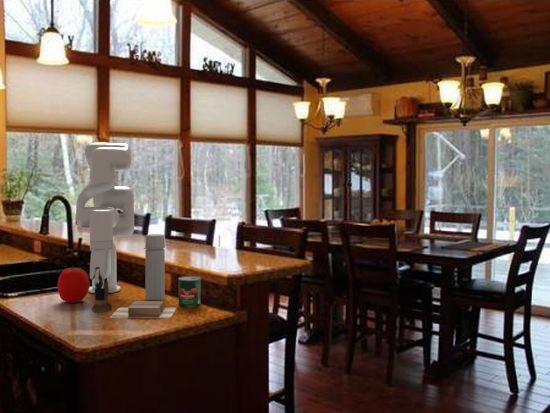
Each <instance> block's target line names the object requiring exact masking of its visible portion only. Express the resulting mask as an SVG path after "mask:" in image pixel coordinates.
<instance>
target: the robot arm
mask: <svg viewBox="0 0 550 413" xmlns="http://www.w3.org/2000/svg"><path fill="white" fill-rule="evenodd" d="M84 154H85V159H86V162H87V164H88V166H89V169H90V181H89V183H88V184H87V185H86V186H85V187H84V188H83V189H82V190H81V191H80V193H79V194H78V196H77V199H76V209H75V210H76V211H75V220H76V221H75V222H76V225H77V226H78V228H80V229H81V228H82V229H89V251H91V253H90V263H89V280H91V282H92V283H91V285H92V286H90V287H89V290H88V293H91V294H94V300H95V301H96V300H105V288H104V280H107V281H108V297H109V294H111V293H116V292H119V291H121V286H120V285H118V284H117V280H118V279H117V277H118V276H117V247H116V244H115V243H114V238H115V237H131V236H132V235H133V234H134V232H135V199H134V198H135V196H134V191H133V189H132V188H130V187H129V186H116V183H115V180H116V179H115V178H116V177H115V171H128V170H129V169H130V168H131V166H132V149H131V147H130V145H129V144H127V143H121V142H120V143H116V142H113V143H111V142H110V143H109V142H93V143H88V144H87V145H86V146H85V148H84ZM91 199H92V200H93V201H92V202H93V203H92V204H93V206H85V205H86V204H87V202H89V201H90V200H91ZM119 211H122V212H119ZM99 278H101V279H99ZM99 281H102V284H101V282H99Z"/></svg>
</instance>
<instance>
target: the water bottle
mask: <svg viewBox="0 0 550 413" xmlns="http://www.w3.org/2000/svg"><path fill="white" fill-rule="evenodd" d="M165 248H166V243H165V234H160V233H152V234H151V233H150V234H146V236H145V247H144V248H143V250H145V252H144V253H145V255H144V256H145V259H144V260H145V262H144V263H145V271H144V272H145V275H144V276H145V279H144V280H145V282H144V283H145V301H165V296H166V294H165V292H166V290H165V288H166V287H165V285H166V282H165V279H166V277H165V274H166V273H165V272H166V271H165V268H166V267H165V265H166V264H165V263H166V262H165V261H166V260H165V254H166V253H165V252H166V250H165Z"/></svg>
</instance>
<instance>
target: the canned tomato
mask: <svg viewBox="0 0 550 413" xmlns="http://www.w3.org/2000/svg"><path fill="white" fill-rule="evenodd" d="M201 278H202V277H200V276H197V275H195V276H194V275H185V276H180V277H178V303H177V304H178V306H179V307H180V308H187V309H188V308H197V307H200V306H201V299H202V298H201V293H202V292H201V288H202V287H201V286H202V285H201V282H202V281H201V280H202V279H201Z"/></svg>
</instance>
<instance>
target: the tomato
mask: <svg viewBox="0 0 550 413" xmlns="http://www.w3.org/2000/svg"><path fill="white" fill-rule="evenodd" d="M90 282H91V281H90V275H88V273H87V271H85V270H84V269H82V266H81V267H75V266H72V267H69V268H65V269H64V270H62V272H61V273H60V275H59V277H58V280H57V291H58V295H59V297H60V299H61V300H62V301H63V302H66V303H71V304H74V303H78V302H81V301H82V300H84V299H85V298H86V297H87V295H88V293H89V291H88V290H89V288H90V287H91V286H90V285H91V283H90Z"/></svg>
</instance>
